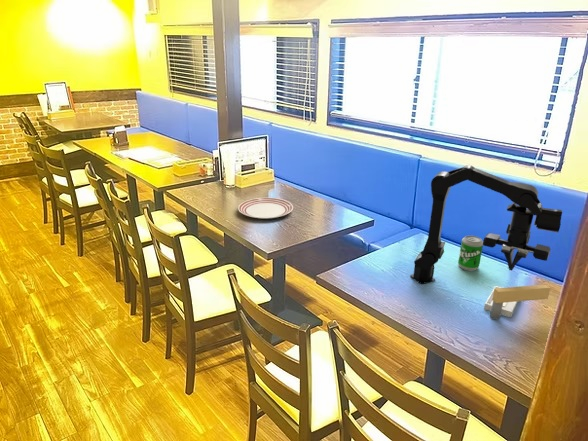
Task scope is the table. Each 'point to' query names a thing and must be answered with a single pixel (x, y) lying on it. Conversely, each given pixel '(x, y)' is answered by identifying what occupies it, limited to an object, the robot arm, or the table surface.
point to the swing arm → (516, 296)
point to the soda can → (470, 253)
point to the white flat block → (506, 308)
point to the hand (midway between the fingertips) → (510, 269)
